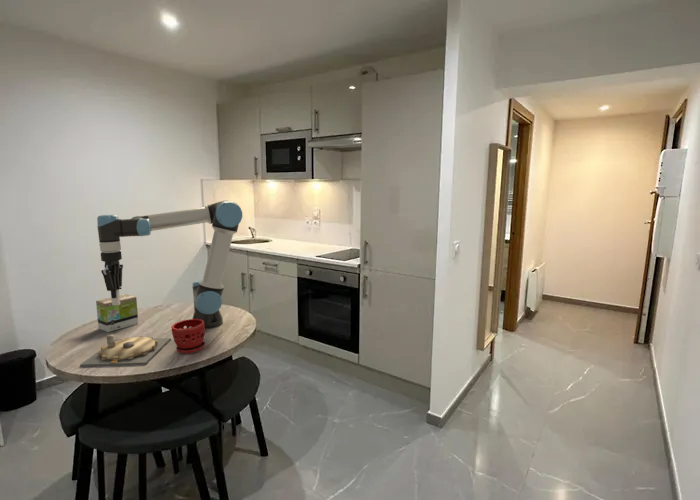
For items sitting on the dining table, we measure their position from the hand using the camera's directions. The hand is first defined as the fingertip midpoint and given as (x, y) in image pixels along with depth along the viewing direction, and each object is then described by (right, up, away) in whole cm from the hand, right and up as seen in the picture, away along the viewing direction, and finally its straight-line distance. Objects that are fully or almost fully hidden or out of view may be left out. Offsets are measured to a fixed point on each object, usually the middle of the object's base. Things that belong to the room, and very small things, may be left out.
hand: (116, 304), depth 166 cm
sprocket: (+8, -19, -4) cm, 20 cm away
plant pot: (+32, -20, -1) cm, 38 cm away
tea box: (-16, -15, +28) cm, 35 cm away
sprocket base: (+8, -20, -3) cm, 22 cm away
